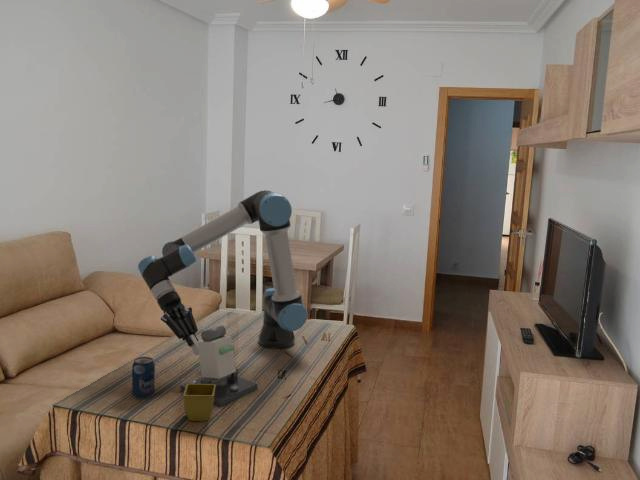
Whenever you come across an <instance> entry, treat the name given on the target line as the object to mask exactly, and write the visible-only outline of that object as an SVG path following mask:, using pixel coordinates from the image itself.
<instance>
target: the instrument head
mask: <svg viewBox="0 0 640 480" xmlns="http://www.w3.org/2000/svg"><path fill="white" fill-rule="evenodd" d="M200 337H201V339H200V340H199V341H197V344H198V351H199V354H198V356H199V365H200V373H201V377H206V378H214V379H212V384H215V383H217V382H219V381H222V380H224V379H227V378H229V377H231V376H232V374H231V373H234V372H236V369H237V368H236V360H235V359H234V352H233V345H234V344H233V338H232V335H229V336H228V335H227V330H226V327H225V326H224V325H219V326H215V327H212V328H209V329H206V330H203V331H202V332H201V333H200Z"/></svg>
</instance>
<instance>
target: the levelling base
mask: <svg viewBox="0 0 640 480" xmlns="http://www.w3.org/2000/svg"><path fill="white" fill-rule="evenodd" d="M231 374H232V376H231V377H229V378H227V379H224V380H222V381H219V382H217V383H215V384H216V388H215V396H214V402H213V406H214V405H215V406H217V407H220V408H221V407H223V406H225V405H227V404H229V403H231V402H233V401H235V400H238V399H240V398H242V397H244V396H246V395H248V394H250V393H253V392H254V391H256V390H258V385H259V384H258V383H257V382H254V381H252V380H248V379H246V378H243V377H241V376H239V369H238V368H236V372H234V373H231ZM212 379H214V378H206V377H202V376H201V377H198V378H196V379H191V380H189V381H187V382H185V383H184V384H181V385H179V386H180V387H179V388H180V389H179V391H180V392H181V393H184V391H185V389H186V386H187V384H212Z"/></svg>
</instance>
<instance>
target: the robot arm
mask: <svg viewBox="0 0 640 480" xmlns="http://www.w3.org/2000/svg"><path fill="white" fill-rule="evenodd" d="M292 208H293V207H292V205H291V203H290V201H289V199H287V198H286V197H285V196H284V195H283V194H280V193H279V192H273V191H271V190H268V189H267V190H260V191H258V192H256V193H254V194H251V195H250V196H248V197H246V198H245V199H243V200H242V201H240V202H238V203H237V206H236V207H234V208H232V209H231V210H229V211H227V212H225V213H223V214H221V215H219V216H217V217H216V218H215V219H212V220H210V221H209V222H206V223H205V224H203V225H202V226H199V227H198V228H196V229H195V230H192V231H191V232H189V233H187V234H185V235H183V236H181V237H180V238H178V239H176V240H174V241H173V240H172V241H167V242H166V243H164V245H162V249H161V254H162V257H159V258H158V257H157V256H155V255H150V256H147V257H144V258H142V259H141V260H140V261H139V262H138V265H137V268H138V271H139V273H140V275H141V277H142V279H143V280H144V282H145V283H146V285H147V287H148V289H149V290H150V292H151V294H152V295H153V298H154V299H155V301H157V302H156V303H157V304H158V306H159V308H160V310H162V311H163V315H162V316H161V317H160V320H161V321H162V322H164V323H165V325H167V326H168V328H169V329H170V330H171V331H172V333H173V334H174V335H175V336H176V337H177V338H178V339H179V340H182V341H186V344H187V346H188V347H190V348H191V350H192V352H193V353H194V355H195V356H199V351H198V344H197V341H200V340H199V338H198V337H197V335H196V333H197V332H198V331H199V329H198V326H197V322H196V321H195V318H194V314H193V308H192V307H189V308H188V307H185V305H184V304H183V303H182V299H181V297H180V295H179V294H178V291H176V288H175V286H174V285H173V282H171V280H170V277H172V276H173V275H175V274H177V273H180V272H181V271H183V270H185V269H186V268H189V267H190V266H192V265H193V264H195V263H196V262H197V256H196V255H195V253H197V252H198V251H200V250H202V249H203V248H205V247H207V246H210V245H211V244H213V243H214V242H216V241H218V240H220V239H222V238H223V237H225V236H227V235H229V234H231V233H232V232H235V231H236V230H238V229H240V228H242V227H243V226H245V225H248V224H249V225H252V224H254V223H256V222H258V226H259V231H260V232H261V233H263V234H264V236H265V242H266V249H267V255H268V262H269V267H270V273H271V278H272V279H271V280H272V286H273V287H272V288H271V287H270V288H267V289H265V290H264V296H263V317H262V318H263V322H262V323H263V324H262V327H261V329H260V332H259V335H258V339H257V340H258V341H257V342H258V344H260V345H261V346H262V347H266V348H271V349H286V348H290V347H292V346H293V345H295V342H296V341H295V340H296V338H295V337H296V336H295V333H294V332H295V331H298V330H300V329H301V328H302V327H304V325H305V324H306V323H307V320H308V316H309V315H308V313H309V312H308V311H307V308H306V306H305V305H304V304H303V297H302V292H301V291H300V290H297V285H296V278H295V272H294V267H293V266H294V265H293V261H292V260H293V258H292V254H291V253H292V252H291V246H290V239H289V232H288V230H289V229H290V227H291V221H290V218H291V216H292V212H293V210H292Z"/></svg>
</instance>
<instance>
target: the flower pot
mask: <svg viewBox="0 0 640 480" xmlns="http://www.w3.org/2000/svg"><path fill="white" fill-rule="evenodd" d="M215 388H216V384H187V386H186V389H185V391H184V392H183V395H182V396H183V406H184V407H183V408H184V412H185V415H186V417H187V418H188V420H189V421H190V422H197V421H198V422H207V421H208V420H209V418H210V416H211V414H212V411H213V406H214V404H213V402H214V396H215Z"/></svg>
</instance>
